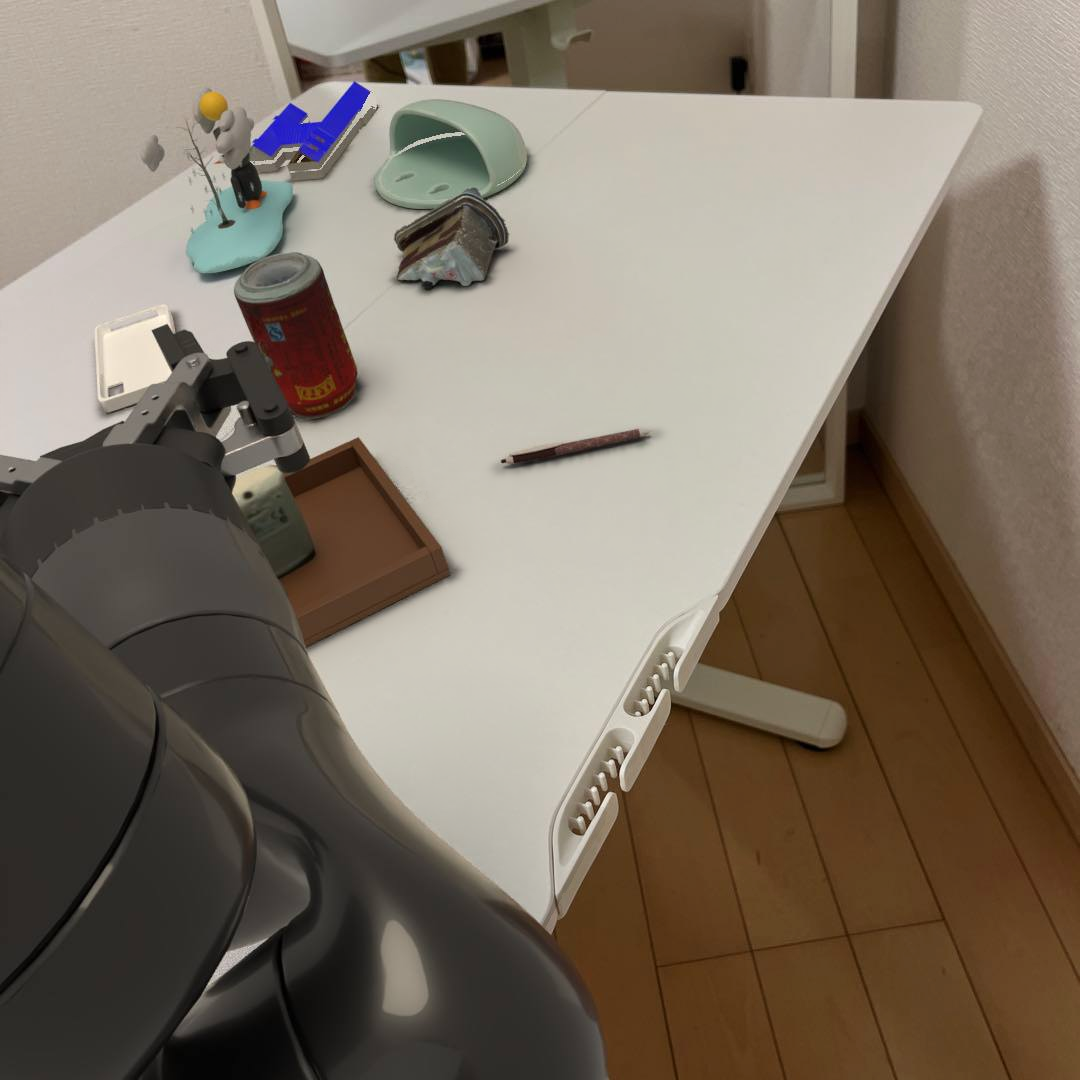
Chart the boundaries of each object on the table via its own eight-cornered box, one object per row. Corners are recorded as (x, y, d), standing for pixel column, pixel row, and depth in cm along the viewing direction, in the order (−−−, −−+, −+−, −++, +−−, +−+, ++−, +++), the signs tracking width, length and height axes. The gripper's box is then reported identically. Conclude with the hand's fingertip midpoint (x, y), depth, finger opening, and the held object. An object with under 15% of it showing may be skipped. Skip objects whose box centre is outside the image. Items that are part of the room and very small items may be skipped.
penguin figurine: (220, 202, 128) (167, 70, 118) (308, 186, 127) (262, 52, 117) (176, 289, 114) (111, 147, 104) (275, 272, 112) (219, 127, 102)
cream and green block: (288, 605, 74) (245, 516, 68) (225, 594, 76) (179, 507, 70) (329, 546, 77) (291, 458, 72) (268, 538, 79) (227, 451, 74)
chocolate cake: (370, 295, 106) (420, 223, 96) (388, 240, 109) (438, 166, 99) (458, 338, 109) (515, 273, 99) (473, 284, 112) (529, 216, 103)
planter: (550, 92, 115) (429, 156, 108) (562, 159, 120) (447, 224, 113) (441, 67, 127) (326, 123, 120) (456, 129, 132) (346, 186, 125)
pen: (502, 469, 81) (499, 458, 80) (501, 463, 82) (499, 452, 81) (653, 437, 81) (651, 426, 80) (651, 431, 81) (649, 420, 81)
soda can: (273, 394, 95) (221, 267, 87) (350, 364, 96) (305, 236, 88) (293, 435, 90) (240, 303, 82) (374, 402, 91) (329, 270, 83)
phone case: (185, 387, 98) (172, 313, 110) (179, 375, 98) (166, 301, 109) (104, 415, 98) (99, 337, 109) (97, 402, 97) (93, 326, 108)
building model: (298, 115, 145) (289, 88, 143) (378, 107, 142) (370, 79, 139) (238, 185, 131) (227, 157, 129) (325, 178, 128) (315, 148, 126)
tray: (173, 713, 69) (156, 687, 67) (124, 576, 80) (108, 550, 79) (450, 574, 74) (441, 546, 72) (368, 463, 85) (358, 436, 83)
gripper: (333, 423, 32) (197, 237, 44) (-164, 646, 29) (-170, 381, 40) (401, 600, 37) (263, 392, 49) (-17, 809, 34) (-59, 532, 45)
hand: (67, 387), depth 45 cm, fingers open, 8 cm apart
